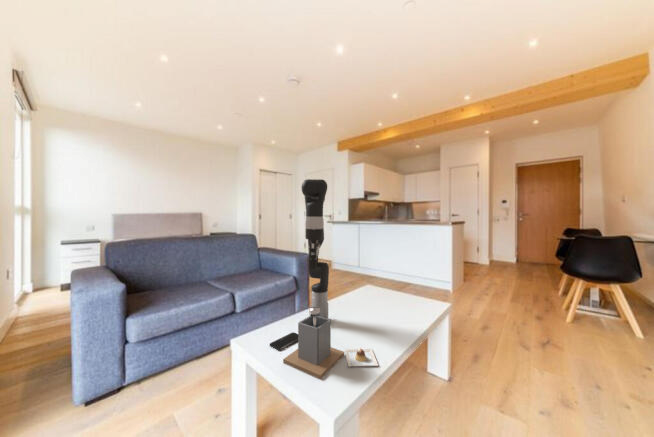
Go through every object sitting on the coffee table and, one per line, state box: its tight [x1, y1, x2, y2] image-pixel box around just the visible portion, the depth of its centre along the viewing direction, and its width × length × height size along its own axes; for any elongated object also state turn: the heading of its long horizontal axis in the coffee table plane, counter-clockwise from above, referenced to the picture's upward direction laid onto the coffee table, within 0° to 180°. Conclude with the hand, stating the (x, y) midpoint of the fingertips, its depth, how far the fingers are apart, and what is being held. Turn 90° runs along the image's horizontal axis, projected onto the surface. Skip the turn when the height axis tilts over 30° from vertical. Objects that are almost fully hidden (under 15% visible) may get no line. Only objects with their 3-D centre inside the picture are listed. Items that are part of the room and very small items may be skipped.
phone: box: [269, 332, 298, 352], centre depth 111 cm, size 8×1×15 cm
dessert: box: [344, 348, 379, 368], centre depth 98 cm, size 12×12×5 cm
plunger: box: [308, 306, 320, 327], centre depth 98 cm, size 8×8×17 cm
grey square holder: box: [282, 315, 345, 380], centre depth 98 cm, size 18×18×16 cm
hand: (314, 266), depth 98 cm, fingers open, 8 cm apart
